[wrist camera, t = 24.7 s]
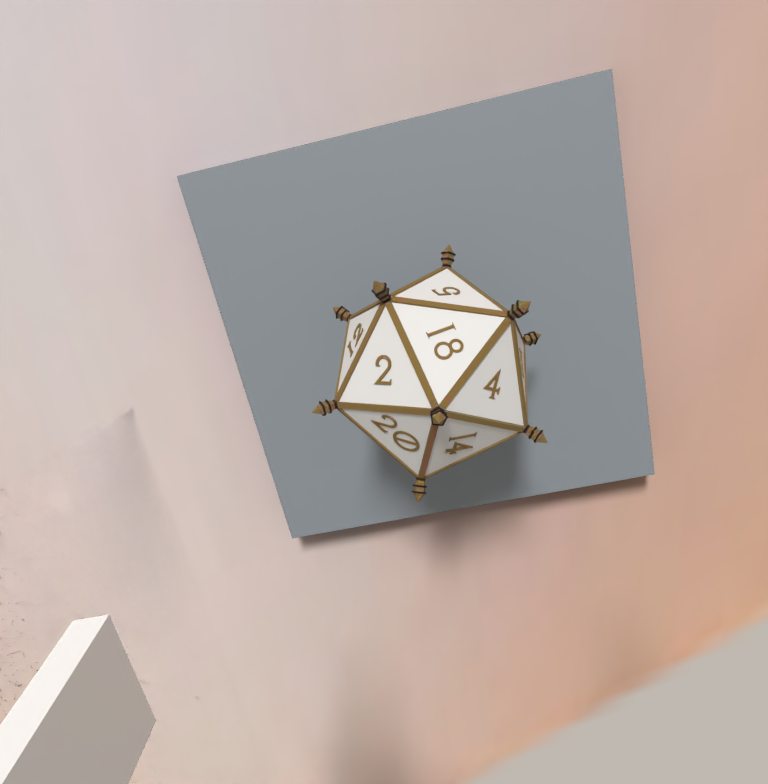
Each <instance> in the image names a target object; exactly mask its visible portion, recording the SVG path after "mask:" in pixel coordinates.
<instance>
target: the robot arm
mask: <svg viewBox="0 0 768 784" xmlns="http://www.w3.org/2000/svg"><path fill="white" fill-rule="evenodd" d="M155 722H156V719H155V717H154V715H153V713H152V710H151V708H150V706H149V704H148V701H147V699H146V697H145V695H144V692H143V690H142V688H141V686H140V683H139V681H138V679H137V677H136V674H135V672H134V670H133V667H132V665H131V663H130V661H129V658H128V656H127V654H126V652H125V649H124V647H123V645H122V643H121V640H120V638H119V636H118V634H117V631H116V629H115V627H114V625H113V622H112V620H111V618H110V616H109V615H104V616H98V617H92V618H86V619H80V620H74V621H73V622H72V623H71V624H70V626H69V627H68V629H67V630H66V632H65V633H64V635H63V636H62V637H61V639H60V640H59V642H58V643H57V645H56V646H55V647H54V649H53V650H52V652H51V653H50V655H49V656H48V657H47V659H46V660H45V662H44V663H43V665H42V666H41V668H40V669H39V670H38V672H37V673H36V675H35V676H34V678H33V679H32V680H31V682H30V683H29V685H28V686H27V688H26V689H25V690H24V692H23V693H22V695H21V696H20V698H19V699H18V701H17V702H16V703H15V705H14V706H13V708H12V709H11V711H10V712H9V713H8V715H7V716H6V718H5V719H4V721H3V722H2V723H1V725H0V784H128V783H129V781H130V778H131V776H132V774H133V772H134V769H135V767H136V765H137V763H138V760H139V758H140V756H141V753H142V751H143V749H144V747H145V744H146V742H147V740H148V737H149V735H150V733H151V731H152V728H153V726H154V724H155Z"/></svg>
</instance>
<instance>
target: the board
mask: <svg viewBox="0 0 768 784" xmlns="http://www.w3.org/2000/svg"><path fill="white" fill-rule="evenodd" d="M177 178H178V181H179V184H180V188H181V191H182V194H183V197H184V200H185V203H186V206H187V210H188V213H189V216H190V219H191V222H192V225H193V228H194V232H195V235H196V238H197V241H198V244H199V247H200V250H201V254H202V257H203V260H204V263H205V266H206V269H207V272H208V275H209V279H210V282H211V285H212V288H213V291H214V294H215V297H216V301H217V304H218V307H219V310H220V313H221V316H222V319H223V323H224V326H225V329H226V332H227V335H228V338H229V341H230V345H231V348H232V351H233V354H234V357H235V360H236V363H237V366H238V370H239V373H240V376H241V379H242V382H243V385H244V388H245V392H246V395H247V398H248V401H249V404H250V407H251V410H252V414H253V417H254V420H255V423H256V426H257V429H258V432H259V435H260V439H261V442H262V445H263V448H264V451H265V454H266V457H267V461H268V464H269V467H270V470H271V473H272V476H273V479H274V483H275V486H276V489H277V492H278V495H279V498H280V501H281V505H282V508H283V511H284V514H285V517H286V520H287V523H288V526H289V530H290V533H291V536H292V538H297V537H303V536H308V535H314V534H320V533H325V532H331V531H337V530H342V529H348V528H354V527H359V526H365V525H371V524H376V523H382V522H388V521H393V520H399V519H404V518H410V517H416V516H421V515H427V514H433V513H438V512H444V511H450V510H455V509H461V508H467V507H472V506H478V505H484V504H489V503H495V502H501V501H506V500H512V499H517V498H523V497H529V496H534V495H540V494H546V493H551V492H557V491H563V490H568V489H574V488H580V487H585V486H591V485H597V484H602V483H608V482H614V481H619V480H625V479H630V478H636V477H642V476H647V475H653V474H655V473H654V463H653V454H652V444H651V435H650V425H649V416H648V406H647V397H646V388H645V378H644V369H643V359H642V350H641V340H640V331H639V321H638V312H637V302H636V293H635V283H634V274H633V264H632V255H631V246H630V236H629V227H628V217H627V208H626V198H625V189H624V179H623V170H622V160H621V151H620V141H619V132H618V122H617V113H616V104H615V94H614V85H613V75H612V69H609V70H605V71H601V72H597V73H593V74H589V75H585V76H581V77H577V78H573V79H568V80H564V81H560V82H556V83H552V84H548V85H544V86H540V87H536V88H532V89H528V90H524V91H520V92H516V93H512V94H508V95H504V96H500V97H496V98H492V99H488V100H483V101H479V102H475V103H471V104H467V105H463V106H459V107H455V108H451V109H447V110H443V111H439V112H435V113H431V114H427V115H423V116H419V117H415V118H411V119H407V120H403V121H398V122H394V123H390V124H386V125H382V126H378V127H374V128H370V129H366V130H362V131H358V132H354V133H350V134H346V135H342V136H338V137H334V138H330V139H326V140H322V141H318V142H313V143H309V144H305V145H301V146H297V147H293V148H289V149H285V150H281V151H277V152H273V153H269V154H265V155H261V156H257V157H253V158H249V159H245V160H241V161H237V162H233V163H228V164H224V165H220V166H216V167H212V168H208V169H204V170H200V171H196V172H192V173H188V174H184V175H180V176H177ZM448 245H450V247H451V248H452V250H453V252H454V253H455V254H456V255H455V256H454V260H455V261H454V262H453V263H452V265H451V268H452V269H453V270H455V271H456V272H458V273H459V274H460V275H462V276H463V277H464V278H466V279H467V280H468V281H470V282H471V283H472V284H474V285H475V286H476V287H478V288H479V289H480V290H482V291H483V292H485V293H486V294H487V295H489V296H490V297H491V298H493V299H494V300H495V301H497V302H498V303H499V304H501V305H502V306H503V307H505V308H506V309H507V310H510V309H511V305H512V304H516V301H517V300H519V301H531V303H530V306H529V309H528V311H529V312H528V313H526V314H525V315H523V316H521V317H520V318H519V319H518V318H515V320H516V322H517V325H518V327H519V329H520V332H521V334H522V336H524V334H527V333H529V332H532V331H535V333H538V334H541V336H540V337H539V339H538V340H537V343H536V345H534V344H532V345H531V346H529V345H525V352H526V377H527V403H528V424H529V426H531V427H537V429H539V430H543V434H544V436H545V438H546V440H547V442H548V443H540V442H536V443H534V441H533V440H532V439H529V438H528V436H527V435H526V434H525V433H522V434H520V435H517V436H515V437H513V438H511V439H509V440H507V441H505V442H503V443H500V444H498V445H496V446H494V447H492V448H490V449H488V450H486V451H483V452H481V453H479V454H477V455H475V456H473V457H471V458H469V459H466V460H464V461H462V462H460V463H458V464H456V465H454V466H452V467H449V468H447V469H445V470H443V471H441V472H439V473H437V474H435V475H432V476H430V477H428V478H426V479H425V485H426V486H427V488H426V489H425V492H427V493H426V494H424V496H423V497H422V498H421V500H420V501H419V502H417V500H416V498H415V496H414V494H413V492H411V491H413V487H414V486H412V485H413V484H414V483H415V481H416V477H415V476H414V475H413V474H412V473H410V472H409V471H408V470H407V469H406V468H405V467H403V466H402V465H401V464H400V463H399V462H398V461H396V460H395V459H394V458H393V457H392V456H391V455H389V454H388V453H387V452H386V451H385V450H384V449H383V448H381V447H380V446H379V445H378V444H377V443H376V442H374V441H373V440H372V439H371V438H370V437H369V436H367V435H366V434H365V433H364V432H363V431H362V430H361V429H359V428H358V427H357V426H356V425H355V424H354V423H352V422H351V421H350V420H349V419H348V418H347V417H345V416H344V415H343V414H342V413H341V412H340V411H339V410H337V409H335V410H333V411H332V413H327V414H326V415H325V416H322V414H316V413H312V412H313V410H314V409H315V408H316V407H317V405H318V404H319V401H321V402H324V401H325V400H326V399H327V400H328V401H332V400H334V398H335V392H336V386H337V381H338V375H339V369H340V364H341V358H342V352H343V346H344V341H345V335H346V329H347V324H348V322H347V321H340V319H339V318H337V319H336V315H335V312H334V310H333V307H341V306H343V307H344V308H345V309H347V310H348V311H350V312H349V313H350V314H354V313H356V312H358V311H359V310H361V309H363V308H365V307H367V306H368V305H370V304H372V303H374V302H376V301H378V300H379V299H378V298H377V297H376V296H375V294H374V293H373V292H372V291H371V290H372V289H373V283H374V281H377V282H381V283H386V284H387V285H386V287H387V288H389V294H390V293H392V292H394V291H396V290H398V289H400V288H402V287H404V286H406V285H408V284H410V283H411V282H413V281H415V280H417V279H419V278H421V277H423V276H425V275H427V274H429V273H431V272H433V271H434V270H436V269H438V268H440V267H442V265H443V264H442V261H441V258H442V254H441V252H443V251H444V250H445V249H446V247H447V246H448Z"/></svg>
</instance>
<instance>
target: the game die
mask: <svg viewBox="0 0 768 784" xmlns="http://www.w3.org/2000/svg"><path fill="white" fill-rule="evenodd" d="M441 254H442V258H441V261H442V264H443V265H442V267H440V268H438V269H436V270H434V271H433V272H431V273H429V274H427V275H425V276H423V277H421V278H419V279H417V280H415V281H413V282H411V283H410V284H408V285H406V286H404V287H402V288H400V289H398V290H396V291H394V292H392V293H390V294H389V288H387V287H386V285H387V284H386V283H381V282H377V281H374V283H373V289H372V290H371V291H372V292H373V293H374V294H375V296H376V297H377V298H378V299H379V300H378V301H376V302H374V303H372V304H370V305H368V306H367V307H365V308H363V309H361V310H359V311H358V312H356V313H354V314H350V313H349V312H350V311H348V310H347V309H345V308H344V307H343V306H341V307H333V310H334V312H335V315H336V319H337V318H339V319H340V321H347V322H348V324H347V329H346V335H345V341H344V346H343V352H342V358H341V364H340V369H339V375H338V381H337V386H336V392H335V398H334V400H332V401H328V400H327V399H326V400H325V401H324V402H321V401H319V404H318V405H317V407H316V408H315V409H314V410H313V412H312V413H316V414H322V416H325V415H326V414H327V413H332V411H333V410H335V409H337V410H339V411H340V412H341V413H342V414H343V415H344V416H345V417H347V418H348V419H349V420H350V421H351V422H352V423H354V424H355V425H356V426H357V427H358V428H359V429H361V430H362V431H363V432H364V433H365V434H366V435H367V436H369V437H370V438H371V439H372V440H373V441H374V442H376V443H377V444H378V445H379V446H380V447H381V448H383V449H384V450H385V451H386V452H387V453H388V454H389V455H391V456H392V457H393V458H394V459H395V460H396V461H398V462H399V463H400V464H401V465H402V466H403V467H405V468H406V469H407V470H408V471H409V472H410V473H412V474H413V475H414V476H415V477H416V481H415V483H414V484H413V485H412V486H414V487H413V491H411V492H413V494H414V496H415V498H416V500H417V502H419V501H420V500H421V498H422V497H423V496H424V494H426V493H427V492H425V489H426V488H427V486H426V485H425V479H426V478H428V477H430V476H432V475H435V474H437V473H439V472H441V471H443V470H445V469H447V468H449V467H452V466H454V465H456V464H458V463H460V462H462V461H464V460H466V459H469V458H471V457H473V456H475V455H477V454H479V453H481V452H483V451H486V450H488V449H490V448H492V447H494V446H496V445H498V444H500V443H503V442H505V441H507V440H509V439H511V438H513V437H515V436H517V435H520V434H522V433H525V434H526V435H527V436H528V438H529V439H532V440H533V441H534V443H536V442H540V443H548V442H547V440H546V438H545V436H544V434H543V430H539V429H537V427H531V426H529V424H528V403H527V377H526V352H525V345H529V346H531V345H532V344H534V345H536V343H537V340H538V339H539V337H540V336H541V334H538V333H535V331H532V332H529V333H527V334H524V336H522V334H521V332H520V329H519V327H518V325H517V322H516V320H515V318H518V319H519V318H520V317H521V316H523V315H525V314H526V313H528V312H529V311H528V309H529V306H530V303H531V301H519V300H517V301H516V304H512V305H511V309H510V310H507V309H506V308H505V307H503V306H502V305H501V304H499V303H498V302H497V301H495V300H494V299H493V298H491V297H490V296H489V295H487V294H486V293H485V292H483V291H482V290H480V289H479V288H478V287H476V286H475V285H474V284H472V283H471V282H470V281H468V280H467V279H466V278H464V277H463V276H462V275H460V274H459V273H458V272H456V271H455V270H453V269H452V268H451V265H452V263H453V262H454V261H455V260H454V256H455V255H456V254H455V253H454V252H453V250H452V248H451V247H450V245H448V246H447V247H446V249H445V250H444V251H443V252H441Z"/></svg>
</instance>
